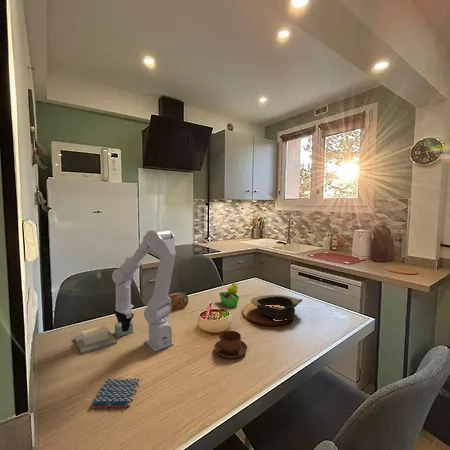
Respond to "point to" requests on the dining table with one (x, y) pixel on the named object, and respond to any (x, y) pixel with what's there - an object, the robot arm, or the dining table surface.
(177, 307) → the tin
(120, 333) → the brick
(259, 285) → the dining table surface
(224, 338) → the cup and saucer
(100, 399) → the woven mat
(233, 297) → the fruit basket
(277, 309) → the stone bowl
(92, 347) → the baseplate
